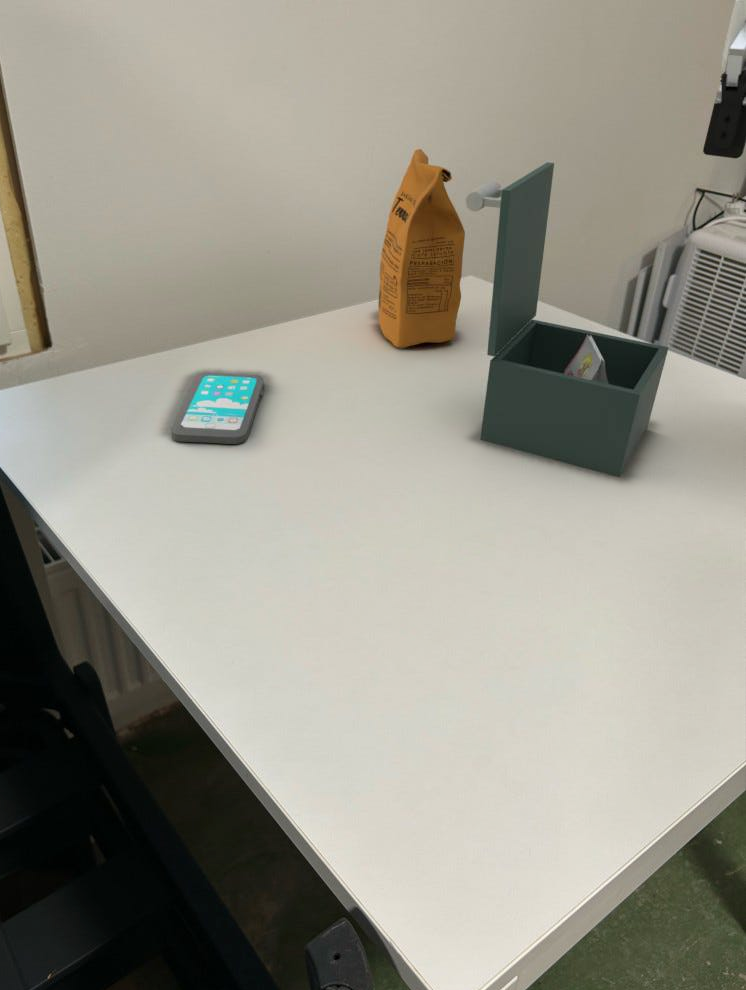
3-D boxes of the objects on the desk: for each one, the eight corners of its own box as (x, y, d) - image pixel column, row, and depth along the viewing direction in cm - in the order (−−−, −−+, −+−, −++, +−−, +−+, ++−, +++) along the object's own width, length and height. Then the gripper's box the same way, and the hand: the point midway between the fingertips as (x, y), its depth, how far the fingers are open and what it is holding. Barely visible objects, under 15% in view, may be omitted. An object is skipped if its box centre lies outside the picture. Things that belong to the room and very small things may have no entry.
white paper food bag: (588, 421, 90) (607, 334, 84) (602, 452, 85) (623, 362, 79) (554, 420, 90) (571, 333, 84) (566, 451, 85) (584, 361, 79)
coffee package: (439, 313, 117) (453, 145, 104) (462, 348, 108) (481, 168, 94) (370, 316, 116) (376, 146, 103) (387, 352, 106) (396, 169, 93)
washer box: (646, 431, 90) (668, 346, 84) (617, 484, 81) (639, 394, 76) (519, 399, 96) (532, 318, 90) (479, 447, 87) (490, 360, 81)
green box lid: (554, 162, 81) (500, 158, 83) (510, 190, 72) (450, 184, 74) (536, 315, 90) (487, 307, 92) (494, 356, 81) (441, 346, 83)
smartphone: (165, 432, 86) (195, 370, 98) (166, 440, 87) (196, 378, 99) (246, 436, 86) (267, 374, 98) (247, 444, 87) (267, 381, 99)
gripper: (828, -95, 57) (755, 169, 67) (872, -89, 68) (803, 137, 79) (718, -94, 61) (664, 157, 71) (777, -88, 72) (723, 128, 82)
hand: (737, 146), depth 75 cm, fingers open, 9 cm apart
